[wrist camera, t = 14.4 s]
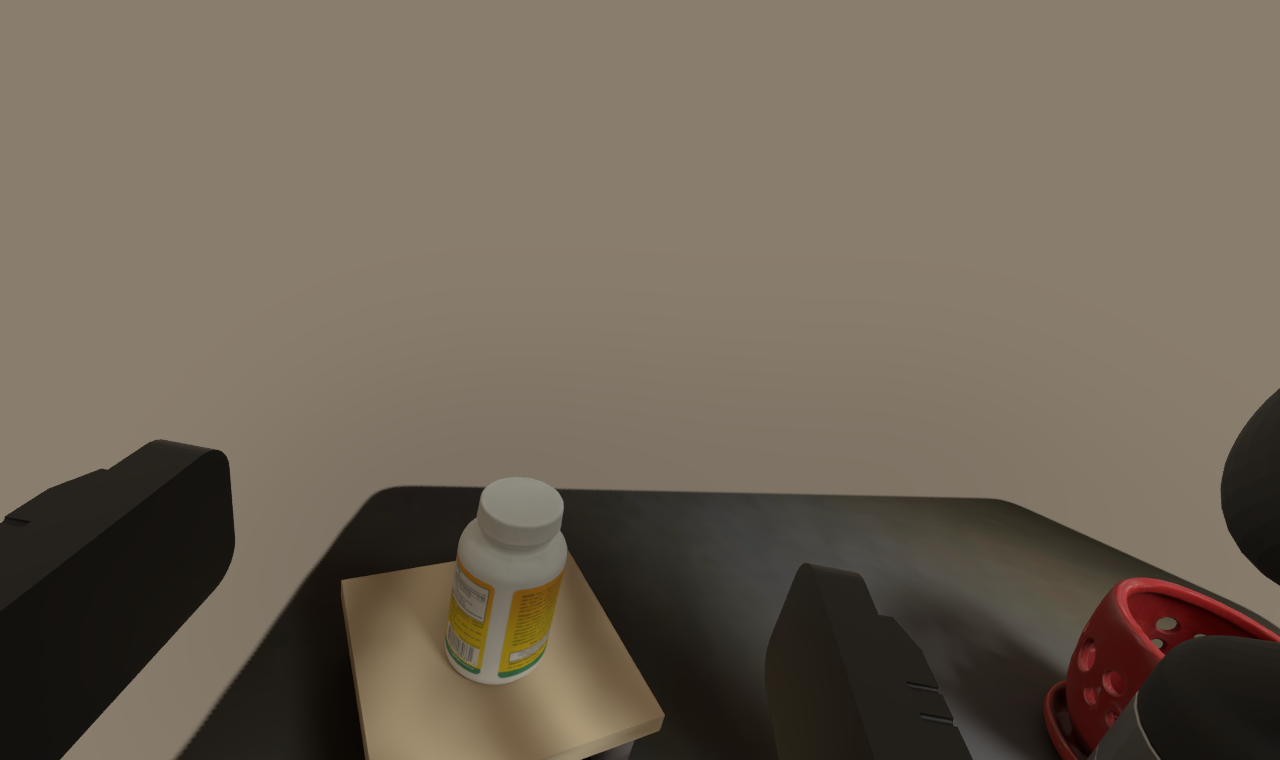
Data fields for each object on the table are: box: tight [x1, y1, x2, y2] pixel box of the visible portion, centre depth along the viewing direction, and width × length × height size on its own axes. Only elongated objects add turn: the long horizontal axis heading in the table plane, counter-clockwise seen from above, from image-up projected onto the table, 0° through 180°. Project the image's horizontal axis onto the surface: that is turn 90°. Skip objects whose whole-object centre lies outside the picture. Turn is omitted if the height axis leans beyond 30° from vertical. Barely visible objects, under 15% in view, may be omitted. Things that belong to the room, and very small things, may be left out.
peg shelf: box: [341, 549, 665, 760], centre depth 35 cm, size 14×14×5 cm
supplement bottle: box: [445, 477, 567, 685], centre depth 32 cm, size 6×6×10 cm
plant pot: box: [1044, 578, 1280, 760], centre depth 40 cm, size 13×13×12 cm
